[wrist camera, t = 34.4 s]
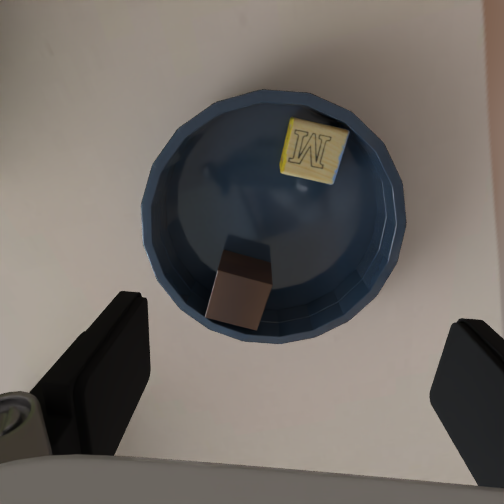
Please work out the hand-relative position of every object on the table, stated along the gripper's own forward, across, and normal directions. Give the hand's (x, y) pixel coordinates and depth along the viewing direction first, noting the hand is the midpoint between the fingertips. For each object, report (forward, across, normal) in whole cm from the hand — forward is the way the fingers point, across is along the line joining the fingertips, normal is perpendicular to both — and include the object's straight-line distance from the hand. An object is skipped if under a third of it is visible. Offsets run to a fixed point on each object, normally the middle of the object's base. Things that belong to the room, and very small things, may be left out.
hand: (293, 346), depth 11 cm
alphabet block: (+14, -1, -5) cm, 15 cm away
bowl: (+14, +1, 0) cm, 14 cm away
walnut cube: (+14, +2, +4) cm, 14 cm away
